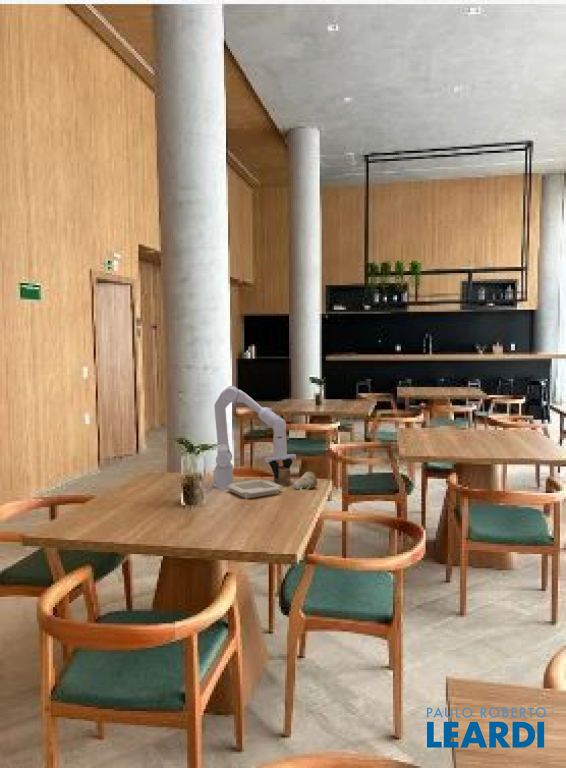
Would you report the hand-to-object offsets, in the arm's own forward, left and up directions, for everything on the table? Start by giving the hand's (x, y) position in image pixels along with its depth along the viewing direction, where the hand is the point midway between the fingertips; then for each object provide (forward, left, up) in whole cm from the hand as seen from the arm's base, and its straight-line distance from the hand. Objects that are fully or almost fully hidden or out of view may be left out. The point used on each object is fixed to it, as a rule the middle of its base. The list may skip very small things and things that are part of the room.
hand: (281, 476), depth 264 cm
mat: (0, 0, -4) cm, 4 cm away
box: (+1, 0, -3) cm, 3 cm away
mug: (+12, +5, -4) cm, 14 cm away
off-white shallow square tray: (+6, -16, -4) cm, 17 cm away
